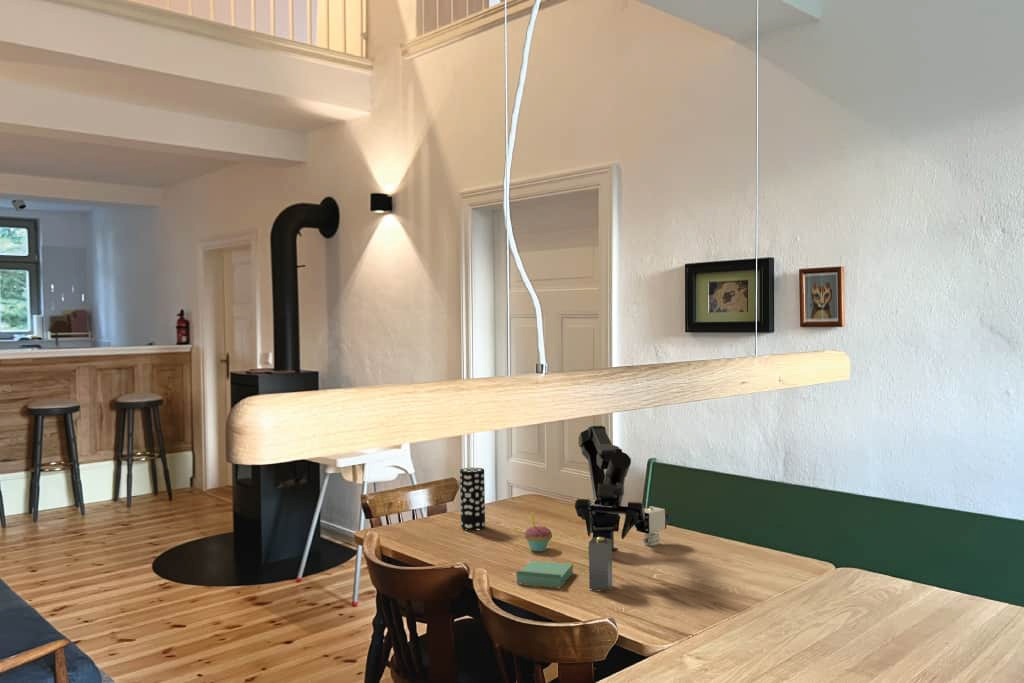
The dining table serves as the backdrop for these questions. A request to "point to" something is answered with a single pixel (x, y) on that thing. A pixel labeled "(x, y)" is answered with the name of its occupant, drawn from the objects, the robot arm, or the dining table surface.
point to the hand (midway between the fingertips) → (605, 537)
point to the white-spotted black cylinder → (472, 498)
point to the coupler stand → (544, 574)
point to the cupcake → (537, 536)
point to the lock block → (600, 564)
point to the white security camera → (652, 524)
